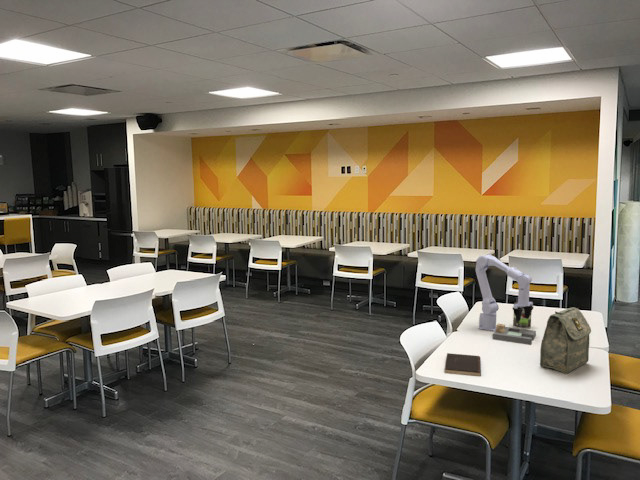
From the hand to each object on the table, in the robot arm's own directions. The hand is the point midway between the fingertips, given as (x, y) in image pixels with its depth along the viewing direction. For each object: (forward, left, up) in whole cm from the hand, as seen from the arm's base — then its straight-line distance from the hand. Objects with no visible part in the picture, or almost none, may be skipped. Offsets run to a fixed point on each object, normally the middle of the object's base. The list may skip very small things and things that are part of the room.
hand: (522, 319), depth 299 cm
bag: (+26, -40, -10) cm, 49 cm away
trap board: (-3, -6, -9) cm, 12 cm away
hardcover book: (-16, -65, -10) cm, 68 cm away
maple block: (-10, -9, -6) cm, 15 cm away
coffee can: (-3, +19, -10) cm, 21 cm away
